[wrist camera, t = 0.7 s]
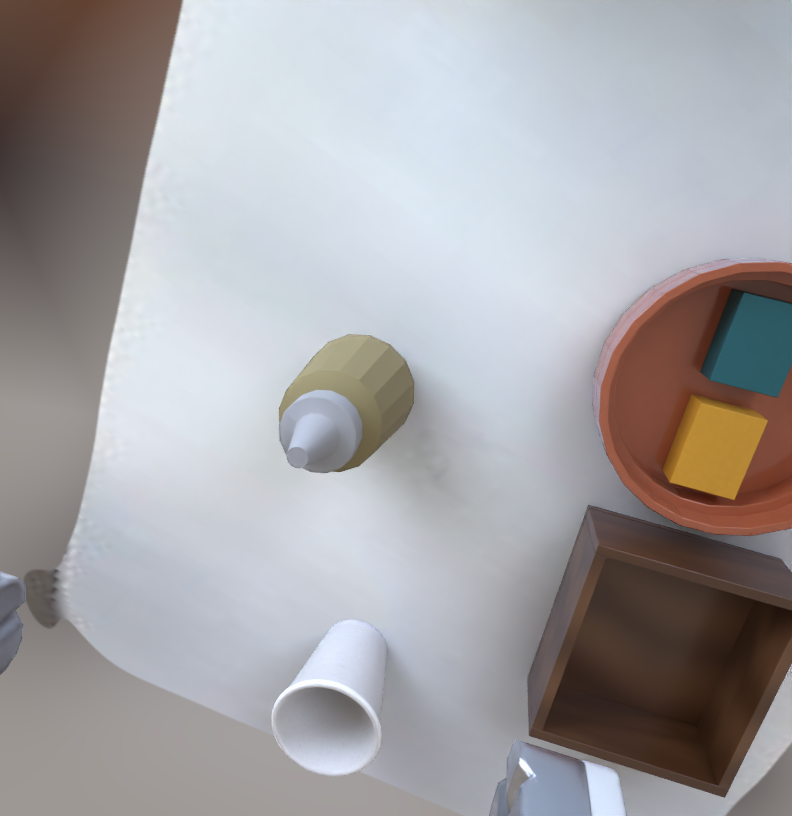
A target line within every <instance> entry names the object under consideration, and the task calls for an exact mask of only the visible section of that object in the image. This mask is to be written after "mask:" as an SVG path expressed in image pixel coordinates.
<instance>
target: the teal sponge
mask: <svg viewBox="0 0 792 816" xmlns="http://www.w3.org/2000/svg"><path fill="white" fill-rule="evenodd" d="M791 365H792V303H790V302H786V301H782V300H777V299H773V298H769V297H765V296H761V295H757V294H753V293H749V292H745V291H740V290H736V289H732V290H731V292H730V295H729V298H728V300H727V303H726V305H725V308H724V311H723V313H722V316H721V318H720V321H719V324H718V326H717V329H716V331H715V334H714V337H713V339H712V342H711V345H710V347H709V350H708V352H707V355H706V358H705V360H704V363H703V365H702V368H701V371H700V373H702V374H703V375H704V376H705V377H706V378H708V379H709V380H710V381H714V382H718V383H721V384H725V385H729V386H733V387H737V388H741V389H745V390H749V391H753V392H756V393H760V394H764V395H768V396H772V397H776V398H778V396H779V394H780V391H781V389H782V387H783V384H784V382H785V380H786V377H787V375H788V372H789V370H790V368H791Z"/></svg>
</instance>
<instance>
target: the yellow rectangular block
mask: <svg viewBox="0 0 792 816" xmlns="http://www.w3.org/2000/svg"><path fill="white" fill-rule="evenodd" d="M767 422H768V420H767V419H765V418H764V417H763V416H762V415H760V414H759V413H758V412H757V411H755V410H752V409H748V408H744V407H740V406H736V405H733V404H729V403H725V402H721V401H717V400H713V399H709V398H706V397H702V396H698V395H694V394H691V396H690V399H689V402H688V404H687V407H686V409H685V412H684V415H683V417H682V420H681V423H680V425H679V428H678V430H677V433H676V436H675V438H674V441H673V443H672V446H671V449H670V451H669V454H668V456H667V459H666V462H665V464H664V467H663V472H664V473H665V475H666V477H667V478H668V480H669V482H670V483H674V484H677V485H681V486H685V487H688V488H692V489H696V490H699V491H703V492H707V493H710V494H714V495H718V496H721V497H725V498H729V499H732V500H735V497H736V495H737V493H738V490H739V488H740V486H741V483H742V481H743V478H744V476H745V474H746V471H747V469H748V467H749V464H750V462H751V460H752V457H753V455H754V453H755V450H756V448H757V446H758V443H759V441H760V439H761V436H762V434H763V432H764V429H765V427H766V424H767Z"/></svg>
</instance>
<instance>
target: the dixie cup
mask: <svg viewBox="0 0 792 816" xmlns="http://www.w3.org/2000/svg"><path fill="white" fill-rule="evenodd" d="M386 660H387V646H386V642H385V640H384V638H383V636H382V635H381V634H380V632H379V631H378V630H377V629H375V628H374V627H373V626H371V625H370V624H368V623H365V622H363V621H359V620H344V621H341V622H338V623H336V624H335V625H333V626H332V627H331V628H330V629H329V631H328V632H327V634H326V635H325V636H324V638H323V639H322V641H321V642H320V644H319V645H318V646H317V648H316V649H315V651H314V652H313V654H312V655H311V656H310V658H309V659H308V661H307V662H306V664H305V665H304V666H303V668H302V669H301V671H300V672H299V674H298V675H297V677H296V678H295V679H294V681H293V682H292V684H291V685H290V687H289V688H287V689H286V690H285V691H284V692H283V693H282V694H281V695H280V696H279V697H278V699H277V700H276V702H275V704H274V707H273V710H272V716H271V724H272V730H273V734H274V737H275V739H276V741H277V743H278V744H279V746H280V748H281V749H282V750H283V752H284V753H285V754H286V755H287V756H288V757H289V758H290V759H291V760H292V761H294V762H295V763H296V764H298V765H299V766H301V767H303V768H305V769H307V770H309V771H311V772H314V773H317V774H321V775H326V776H345V775H350V774H353V773H356V772H358V771H360V770H362V769H364V768H365V767H366V766H368V765H369V764H370V763H371V762H372V761H373V760H374V758H375V757H376V755H377V753H378V751H379V749H380V745H381V739H382V733H381V726H380V720H381V710H382V700H383V690H384V680H385V670H386Z"/></svg>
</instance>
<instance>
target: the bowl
mask: <svg viewBox="0 0 792 816" xmlns="http://www.w3.org/2000/svg"><path fill="white" fill-rule="evenodd" d="M732 289H736V290H740V291H745V292H749V293H753V294H757V295H761V296H765V297H769V298H773V299H777V300H782V301H786V302H790V303H792V264H791V263H787V262H781V261H775V260H769V259H762V258H746V259H722V260H717V261H714V262H710V263H706V264H703V265H699V266H695V267H692V268H688V269H686V270H683V271H681V272H679V273H677V274H675V275H674V276H672V277H670V278H668V279H666V280H664V281H663V282H661V283H659V284H657V285H655V286H654V287H652V288H651V289H649V290H648V291H647V292H646V293H645V294H644V295H643V296H642V297H641V298H640V299H639V300H637V301H636V302H635V303H634V304H633V305H632V306H631V307H630V308H629V309H628V310H627V311H625V313H623V315H622V316H621V318H620V320H619V321H618V323H617V324H616V326H615V327H614V329H613V330H612V332H611V333H610V335H609V336H608V338H607V339H606V341H605V343H604V346H603V349H602V352H601V355H600V358H599V361H598V364H597V367H596V370H595V373H594V384H593V405H592V406H593V411H594V415H595V419H596V423H597V427H598V432H599V436H600V438H601V441H602V444H603V446H604V449H605V451H606V454H607V456H608V458H609V459H610V461H611V463H612V465H613V466H614V468H615V470H616V472H617V473H618V475H619V477H620V479H621V480H622V482H623V483H624V485H625V486H626V487H627V488H628V489H629V490H630V491H631V492H632V493H633V494H634V495H635V496H637V497H638V498H639V499H640V500H641V501H642V502H643V503H644V504H645V505H646V506H647V507H648V508H650V509H652V510H653V511H655V512H657V513H659V514H660V515H662V516H664V517H666V518H668V519H669V520H671V521H673V522H675V523H676V524H679V525H682V526H685V527H689V528H693V529H696V530H700V531H703V532H707V533H711V534H720V535H743V536H750V535H751V536H753V535H758V534H764V533H770V532H775V531H781V530H786V529H788V528H789V529H790V528H792V365H791V368H790V370H789V372H788V375H787V377H786V380H785V382H784V384H783V387H782V389H781V391H780V394H779V396H778V398H776V397H772V396H768V395H764V394H760V393H756V392H753V391H749V390H745V389H741V388H737V387H733V386H729V385H725V384H721V383H718V382H714V381H710V380H709V379H708V378H706V377H705V376H704V375H703V374H702V373H700V371H701V368H702V365H703V363H704V360H705V358H706V355H707V352H708V350H709V347H710V345H711V342H712V339H713V337H714V334H715V331H716V329H717V326H718V324H719V321H720V318H721V316H722V313H723V311H724V308H725V305H726V303H727V300H728V298H729V295H730V292H731V290H732ZM691 394H694V395H698V396H702V397H706V398H709V399H713V400H717V401H721V402H725V403H729V404H733V405H736V406H740V407H744V408H748V409H752V410H755V411H757V412H758V413H759V414H760V415H762V416H763V417H764V418H765V419H767V420H768V422H767V424H766V427H765V429H764V432H763V434H762V436H761V439H760V441H759V443H758V446H757V448H756V450H755V453H754V455H753V457H752V460H751V462H750V464H749V467H748V469H747V471H746V474H745V476H744V478H743V481H742V483H741V486H740V488H739V490H738V493H737V495H736V497H735V500H732V499H729V498H725V497H721V496H718V495H714V494H710V493H707V492H703V491H699V490H696V489H692V488H688V487H685V486H681V485H677V484H674V483H670V482H669V480H668V478H667V477H666V475H665V473H664V472H663V467H664V464H665V462H666V459H667V456H668V454H669V451H670V449H671V446H672V443H673V441H674V438H675V436H676V433H677V430H678V428H679V425H680V423H681V420H682V417H683V415H684V412H685V409H686V407H687V404H688V402H689V399H690V396H691Z"/></svg>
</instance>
